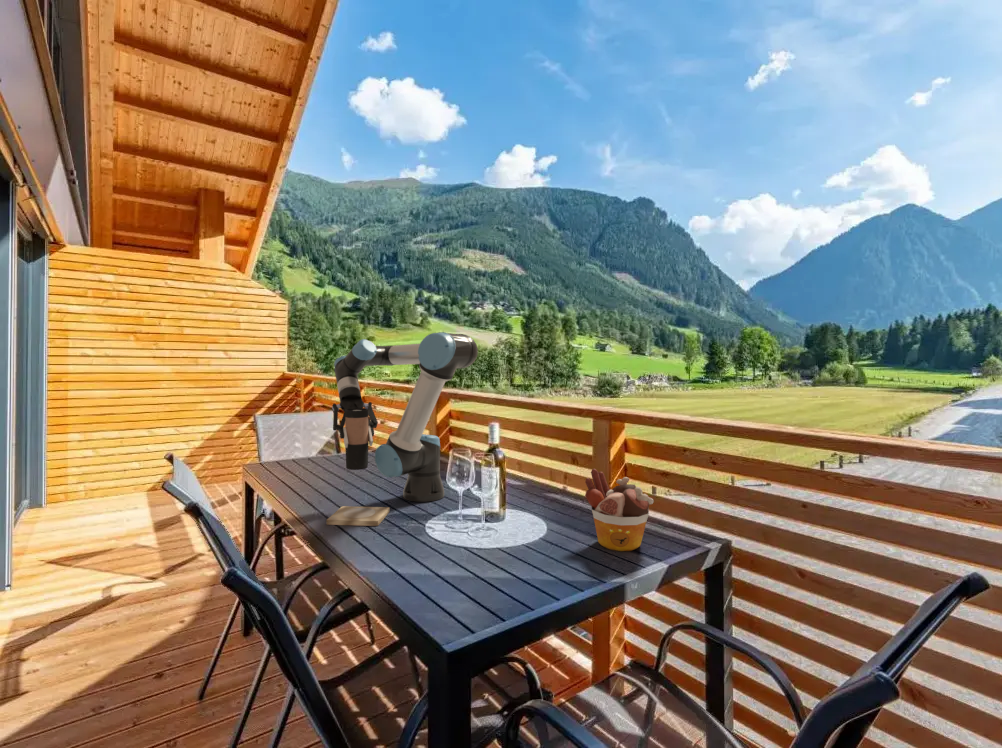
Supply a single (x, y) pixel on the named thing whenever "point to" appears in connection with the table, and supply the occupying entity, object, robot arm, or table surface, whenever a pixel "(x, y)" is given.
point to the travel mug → (357, 438)
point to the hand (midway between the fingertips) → (359, 444)
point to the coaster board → (358, 516)
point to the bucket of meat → (617, 512)
